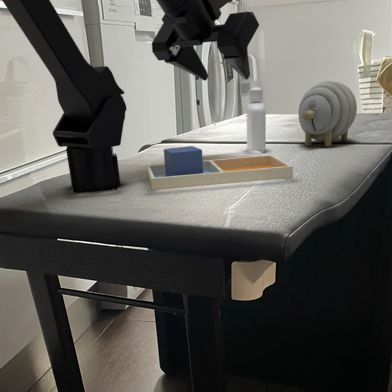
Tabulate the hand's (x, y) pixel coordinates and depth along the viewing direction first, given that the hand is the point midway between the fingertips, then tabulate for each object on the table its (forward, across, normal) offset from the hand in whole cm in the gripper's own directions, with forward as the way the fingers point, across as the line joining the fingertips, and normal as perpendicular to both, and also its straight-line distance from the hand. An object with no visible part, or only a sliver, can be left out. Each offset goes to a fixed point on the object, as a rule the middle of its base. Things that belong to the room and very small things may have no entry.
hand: (226, 77), depth 93 cm
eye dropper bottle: (+15, 0, +3) cm, 15 cm away
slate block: (-6, -9, +24) cm, 26 cm away
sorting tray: (-2, -11, +21) cm, 24 cm away
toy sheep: (+23, -7, -6) cm, 25 cm away
